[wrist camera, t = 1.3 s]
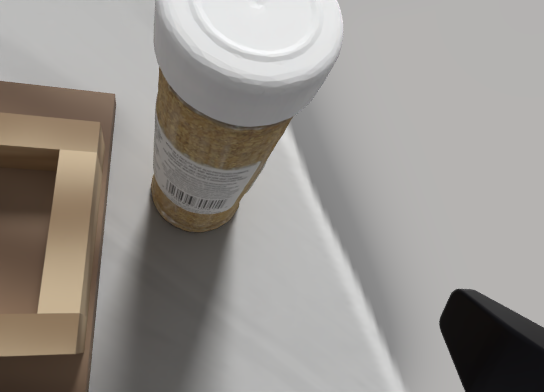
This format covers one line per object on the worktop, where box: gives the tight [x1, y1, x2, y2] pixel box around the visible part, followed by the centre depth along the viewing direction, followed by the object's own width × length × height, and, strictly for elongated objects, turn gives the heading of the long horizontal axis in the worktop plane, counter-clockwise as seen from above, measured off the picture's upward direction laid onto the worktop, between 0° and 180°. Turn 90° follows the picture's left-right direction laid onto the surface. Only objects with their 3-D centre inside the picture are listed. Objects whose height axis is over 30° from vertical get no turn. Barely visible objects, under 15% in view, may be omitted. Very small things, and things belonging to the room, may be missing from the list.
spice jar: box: [151, 0, 343, 232], centre depth 16 cm, size 5×5×14 cm
